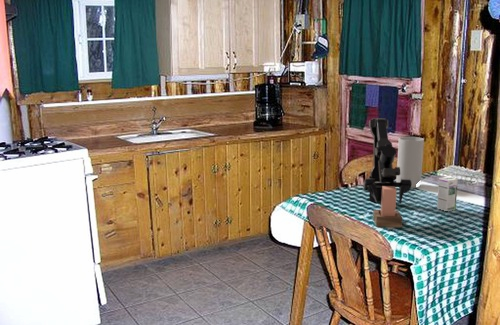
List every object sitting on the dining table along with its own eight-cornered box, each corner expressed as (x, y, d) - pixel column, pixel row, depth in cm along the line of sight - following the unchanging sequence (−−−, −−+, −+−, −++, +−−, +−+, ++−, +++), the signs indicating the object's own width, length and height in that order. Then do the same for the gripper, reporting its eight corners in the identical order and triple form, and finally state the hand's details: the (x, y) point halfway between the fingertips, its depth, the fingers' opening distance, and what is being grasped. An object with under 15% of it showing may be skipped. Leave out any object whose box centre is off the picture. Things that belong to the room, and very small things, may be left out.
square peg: (380, 218, 216) (382, 186, 214) (392, 218, 216) (394, 186, 213) (382, 222, 212) (383, 189, 209) (394, 222, 211) (396, 189, 208)
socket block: (373, 218, 219) (373, 209, 218) (397, 219, 218) (397, 210, 217) (376, 226, 210) (376, 217, 209) (401, 227, 209) (402, 217, 208)
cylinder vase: (424, 184, 274) (427, 138, 269) (415, 189, 265) (418, 141, 259) (401, 181, 282) (404, 135, 277) (392, 186, 272) (394, 139, 267)
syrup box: (446, 212, 228) (449, 180, 225) (436, 208, 233) (438, 177, 230) (455, 210, 231) (458, 178, 228) (445, 206, 236) (447, 175, 233)
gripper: (365, 159, 213) (367, 192, 205) (412, 160, 211) (416, 193, 203) (362, 173, 223) (364, 205, 214) (407, 174, 221) (410, 207, 212)
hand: (388, 202), depth 211 cm, fingers open, 9 cm apart
